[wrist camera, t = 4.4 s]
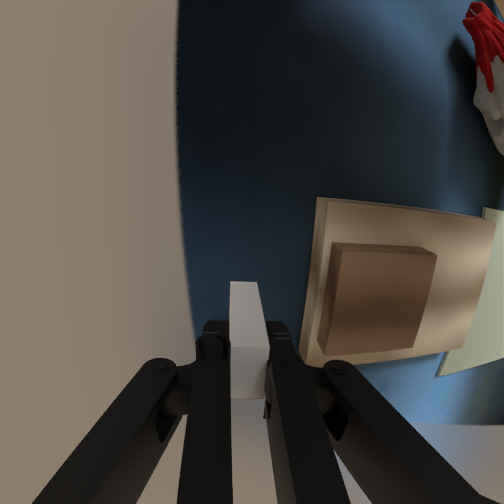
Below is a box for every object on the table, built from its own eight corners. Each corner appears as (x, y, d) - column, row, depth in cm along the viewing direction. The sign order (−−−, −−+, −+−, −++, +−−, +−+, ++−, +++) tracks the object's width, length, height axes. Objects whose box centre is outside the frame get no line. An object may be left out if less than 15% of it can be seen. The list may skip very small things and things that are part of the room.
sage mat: (482, 206, 20) (486, 207, 20) (540, 220, 21) (543, 221, 21) (436, 373, 25) (438, 376, 25) (501, 355, 26) (503, 357, 26)
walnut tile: (331, 242, 18) (342, 251, 16) (421, 246, 18) (437, 255, 16) (316, 340, 20) (324, 356, 18) (400, 334, 20) (412, 347, 18)
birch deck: (317, 196, 20) (328, 201, 17) (478, 216, 21) (496, 222, 18) (298, 349, 23) (304, 368, 20) (448, 335, 24) (462, 348, 22)
